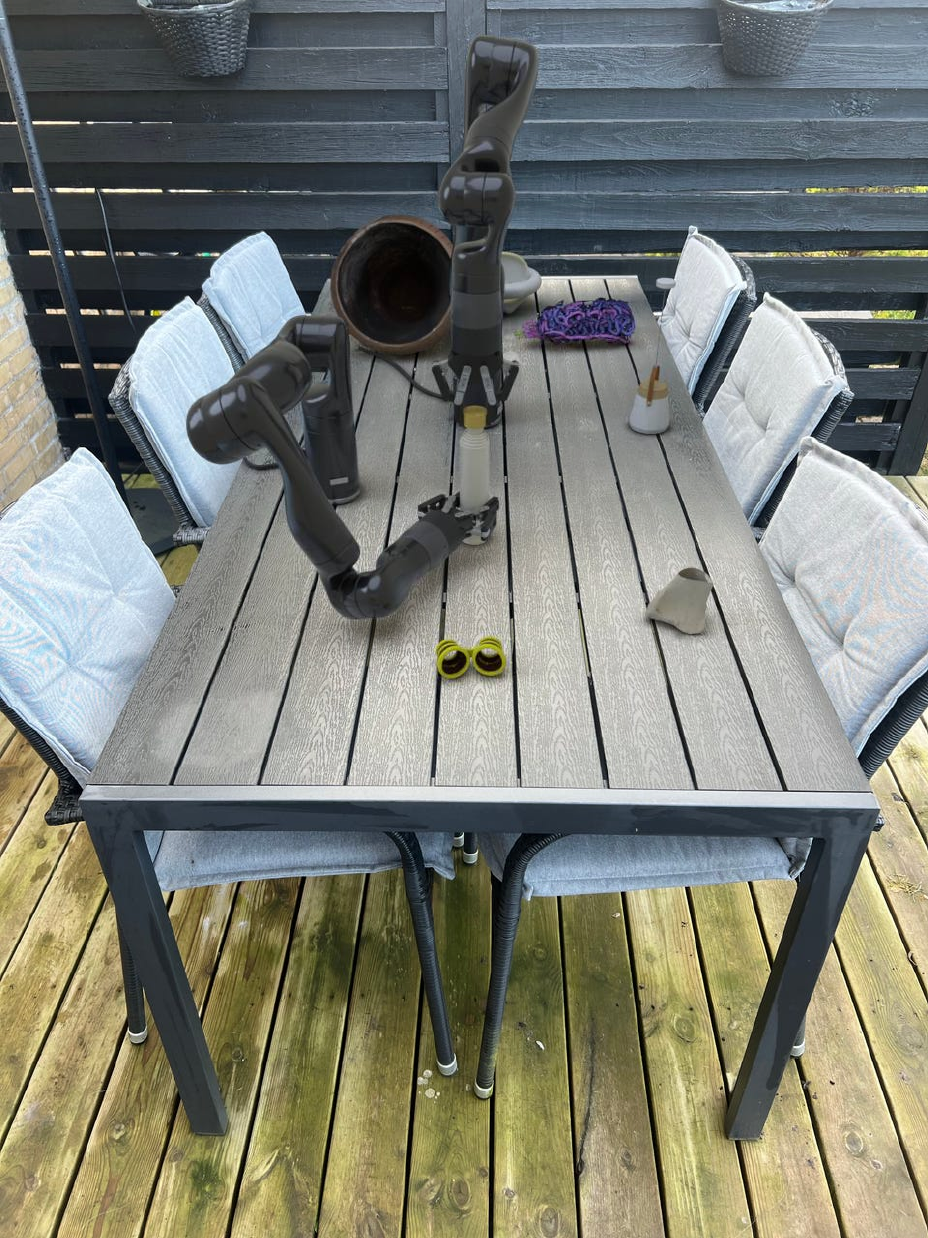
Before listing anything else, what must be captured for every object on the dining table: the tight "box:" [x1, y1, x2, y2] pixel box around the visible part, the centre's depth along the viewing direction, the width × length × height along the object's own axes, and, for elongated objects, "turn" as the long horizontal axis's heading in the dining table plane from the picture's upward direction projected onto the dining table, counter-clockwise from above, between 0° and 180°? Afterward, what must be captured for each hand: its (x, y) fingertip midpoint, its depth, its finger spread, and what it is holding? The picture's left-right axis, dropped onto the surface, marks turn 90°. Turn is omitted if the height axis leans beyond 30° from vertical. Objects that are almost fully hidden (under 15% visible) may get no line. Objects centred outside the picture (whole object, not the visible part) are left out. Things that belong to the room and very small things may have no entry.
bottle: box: [459, 427, 491, 546], centre depth 155 cm, size 5×5×23 cm
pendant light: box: [628, 277, 677, 435], centre depth 186 cm, size 8×8×30 cm
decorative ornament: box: [513, 296, 636, 345], centre depth 229 cm, size 13×11×30 cm
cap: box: [463, 406, 487, 429], centre depth 148 cm, size 4×4×2 cm
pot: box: [329, 213, 453, 356], centre depth 230 cm, size 32×32×30 cm
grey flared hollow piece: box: [645, 566, 715, 635], centre depth 139 cm, size 9×8×10 cm
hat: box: [501, 251, 543, 314], centre depth 248 cm, size 25×22×15 cm
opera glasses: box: [435, 635, 507, 679], centre depth 132 cm, size 10×5×5 cm, turn 95°
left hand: (482, 497), depth 159 cm, fingers closed on bottle, 5 cm apart
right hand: (474, 423), depth 148 cm, fingers closed on cap, 4 cm apart
